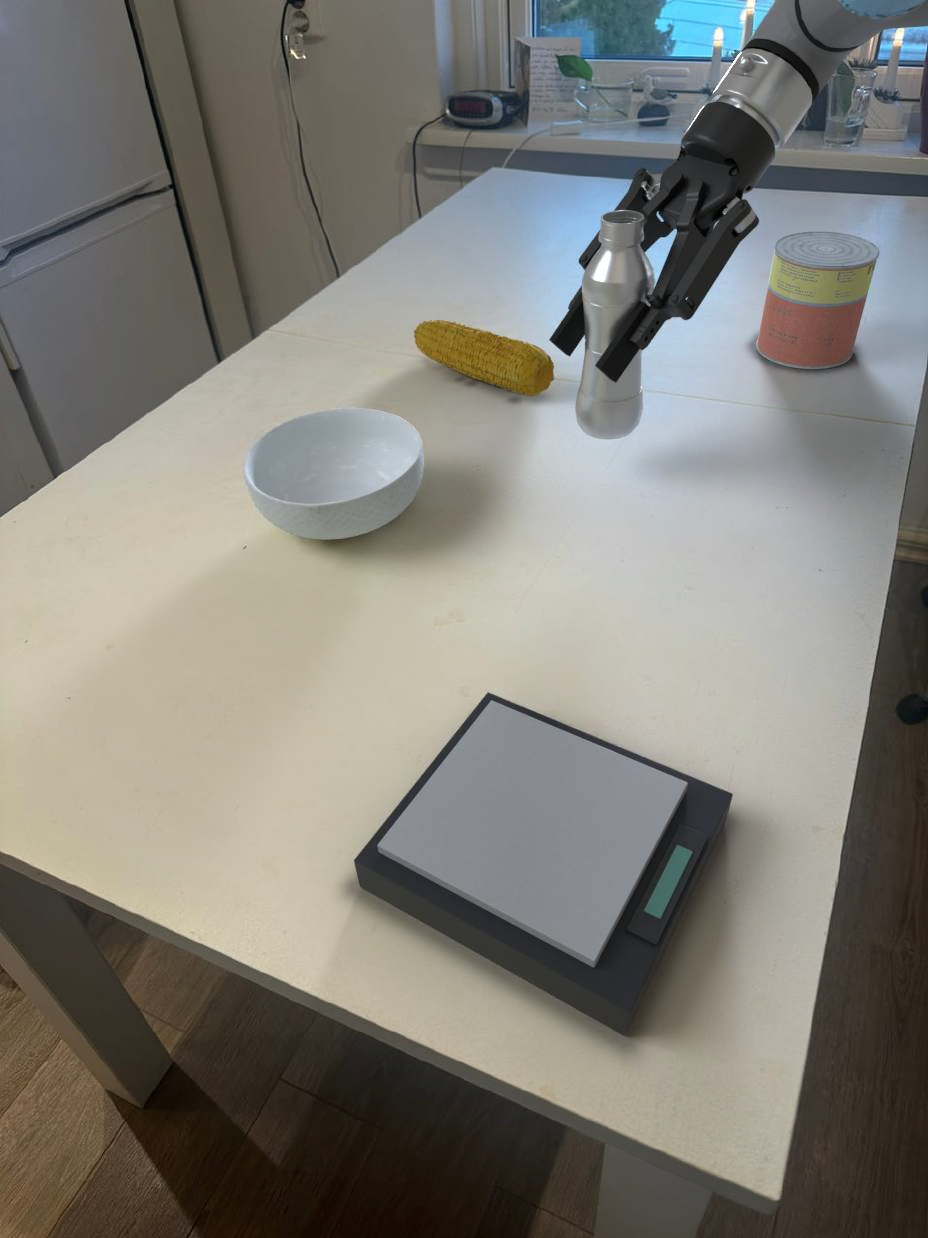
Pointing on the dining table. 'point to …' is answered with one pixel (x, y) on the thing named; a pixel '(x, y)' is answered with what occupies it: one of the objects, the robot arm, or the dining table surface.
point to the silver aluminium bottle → (613, 325)
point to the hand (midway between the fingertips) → (582, 360)
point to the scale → (549, 855)
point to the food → (486, 356)
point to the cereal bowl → (335, 472)
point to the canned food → (815, 299)
